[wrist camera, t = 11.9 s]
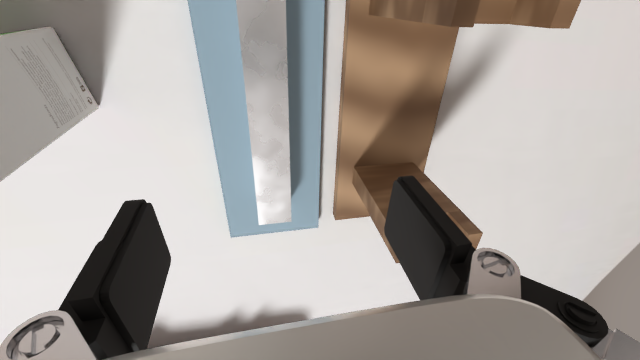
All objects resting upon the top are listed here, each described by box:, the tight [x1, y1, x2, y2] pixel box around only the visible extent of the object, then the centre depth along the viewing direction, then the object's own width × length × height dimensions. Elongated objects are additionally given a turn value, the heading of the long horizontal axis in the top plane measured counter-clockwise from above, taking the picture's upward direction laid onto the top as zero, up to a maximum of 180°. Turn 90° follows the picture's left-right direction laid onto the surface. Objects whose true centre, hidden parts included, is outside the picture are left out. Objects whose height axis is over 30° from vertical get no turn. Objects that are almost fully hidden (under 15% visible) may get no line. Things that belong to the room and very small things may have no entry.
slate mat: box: [188, 0, 325, 237], centre depth 26 cm, size 30×10×1 cm, turn 178°
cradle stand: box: [333, 0, 581, 263], centre depth 23 cm, size 28×10×13 cm, turn 178°
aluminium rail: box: [236, 0, 292, 225], centre depth 24 cm, size 22×3×3 cm, turn 178°
